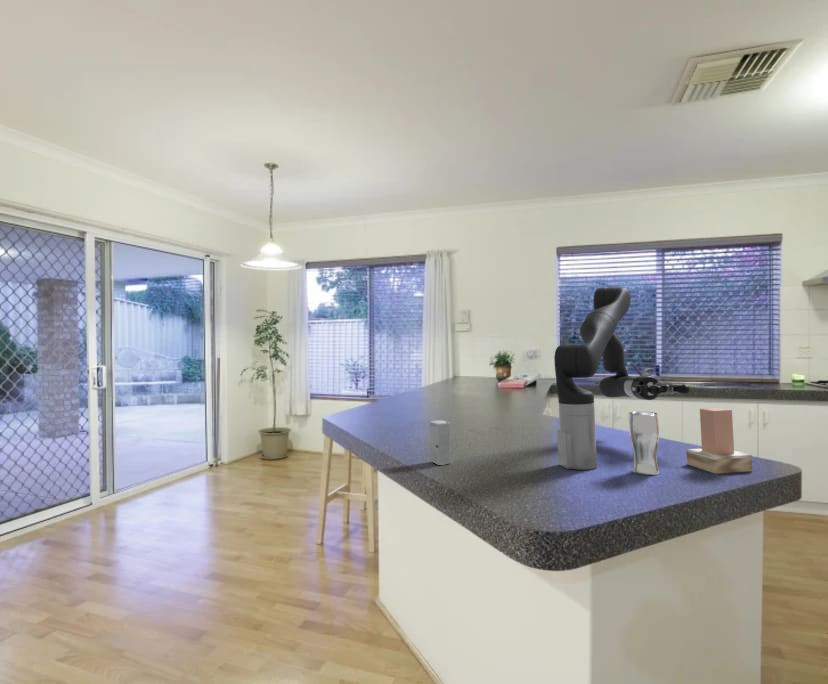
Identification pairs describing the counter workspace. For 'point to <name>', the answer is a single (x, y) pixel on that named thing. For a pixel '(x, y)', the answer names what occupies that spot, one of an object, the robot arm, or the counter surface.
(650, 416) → the beer glass
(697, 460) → the base slab
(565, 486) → the counter surface
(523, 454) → the counter surface
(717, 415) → the pillar
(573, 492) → the counter surface
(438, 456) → the skincare box
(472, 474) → the counter surface
